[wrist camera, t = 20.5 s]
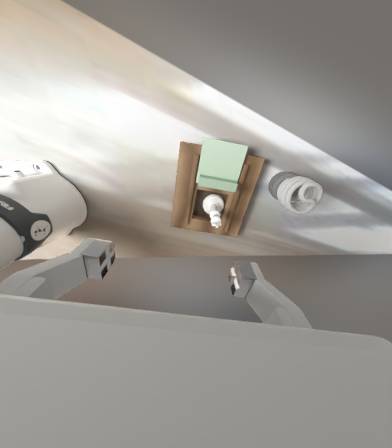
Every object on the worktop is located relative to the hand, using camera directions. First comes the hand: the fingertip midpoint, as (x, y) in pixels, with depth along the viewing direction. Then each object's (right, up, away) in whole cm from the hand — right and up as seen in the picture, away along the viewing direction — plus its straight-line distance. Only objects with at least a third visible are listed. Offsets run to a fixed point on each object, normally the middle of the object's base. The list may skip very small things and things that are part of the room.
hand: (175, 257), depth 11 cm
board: (+5, +9, +25) cm, 27 cm away
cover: (+6, +14, +19) cm, 24 cm away
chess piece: (+5, +7, +26) cm, 27 cm away
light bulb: (+19, +12, +23) cm, 32 cm away
